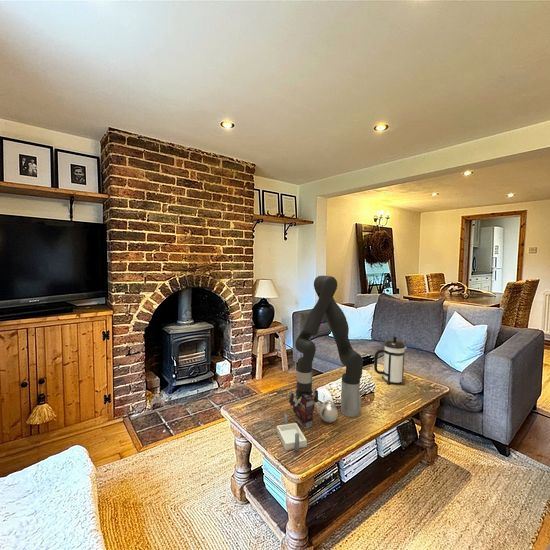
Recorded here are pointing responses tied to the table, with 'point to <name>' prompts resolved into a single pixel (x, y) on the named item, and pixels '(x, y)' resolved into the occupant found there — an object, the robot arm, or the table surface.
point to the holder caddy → (291, 435)
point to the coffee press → (392, 360)
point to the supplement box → (305, 410)
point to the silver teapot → (329, 411)
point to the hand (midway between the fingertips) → (303, 411)
